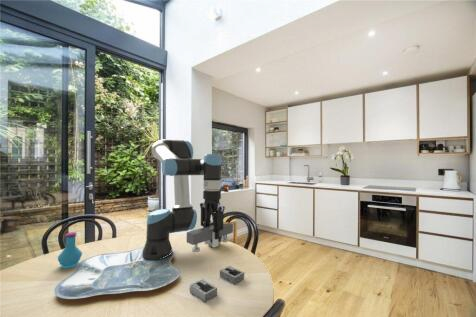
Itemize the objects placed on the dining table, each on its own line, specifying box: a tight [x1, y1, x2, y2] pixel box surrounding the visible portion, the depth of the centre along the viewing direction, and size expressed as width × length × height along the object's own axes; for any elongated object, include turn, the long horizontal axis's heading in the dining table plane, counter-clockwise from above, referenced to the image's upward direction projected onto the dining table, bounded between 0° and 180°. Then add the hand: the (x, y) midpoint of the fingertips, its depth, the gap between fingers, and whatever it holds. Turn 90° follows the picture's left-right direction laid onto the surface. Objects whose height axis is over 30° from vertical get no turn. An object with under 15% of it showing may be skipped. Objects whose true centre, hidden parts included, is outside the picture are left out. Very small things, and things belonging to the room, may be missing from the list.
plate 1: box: [189, 278, 218, 304], centre depth 84 cm, size 9×6×3 cm, turn 48°
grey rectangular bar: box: [186, 221, 234, 253], centre depth 93 cm, size 4×22×8 cm, turn 138°
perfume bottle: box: [57, 231, 83, 269], centre depth 105 cm, size 9×9×15 cm
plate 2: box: [219, 265, 245, 286], centre depth 96 cm, size 9×6×3 cm, turn 48°
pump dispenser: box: [207, 219, 223, 248], centre depth 134 cm, size 10×10×15 cm
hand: (211, 244), depth 93 cm, fingers closed on grey rectangular bar, 4 cm apart
